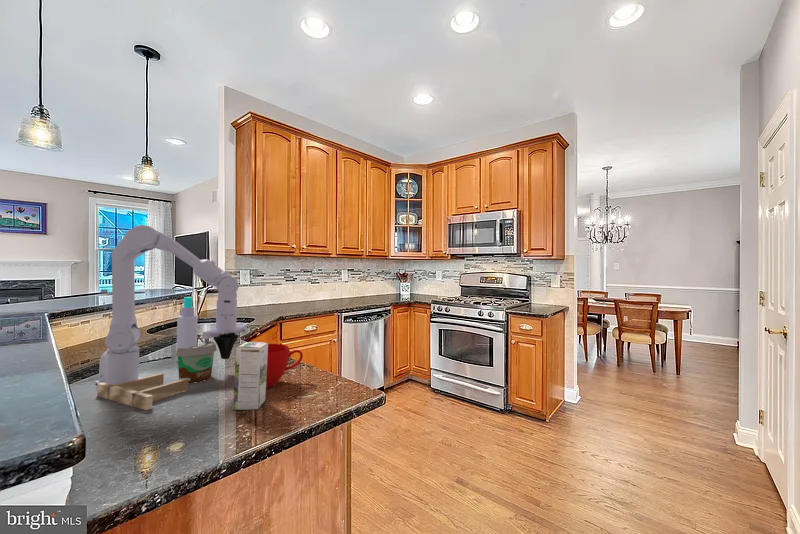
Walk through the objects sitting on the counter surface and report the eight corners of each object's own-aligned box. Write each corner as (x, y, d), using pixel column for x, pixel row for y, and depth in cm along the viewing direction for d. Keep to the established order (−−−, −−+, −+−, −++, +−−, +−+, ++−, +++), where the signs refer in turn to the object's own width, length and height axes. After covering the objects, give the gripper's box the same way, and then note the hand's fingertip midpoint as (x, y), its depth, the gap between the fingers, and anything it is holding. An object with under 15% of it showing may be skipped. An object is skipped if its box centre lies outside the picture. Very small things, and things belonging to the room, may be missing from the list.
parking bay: (97, 395, 88) (97, 383, 88) (150, 381, 99) (151, 371, 99) (146, 410, 80) (147, 396, 80) (199, 393, 91) (199, 381, 91)
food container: (194, 387, 96) (195, 350, 96) (174, 385, 97) (175, 348, 97) (225, 374, 108) (226, 341, 108) (207, 372, 109) (208, 340, 109)
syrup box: (241, 401, 86) (243, 341, 87) (266, 401, 87) (268, 341, 87) (232, 410, 81) (234, 346, 81) (259, 410, 81) (261, 346, 81)
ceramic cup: (306, 386, 99) (307, 350, 99) (239, 394, 91) (241, 355, 91) (298, 373, 110) (298, 341, 110) (238, 380, 103) (239, 345, 103)
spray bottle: (175, 363, 119) (177, 298, 120) (176, 359, 125) (178, 296, 125) (196, 361, 122) (198, 297, 123) (196, 357, 127) (198, 296, 128)
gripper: (214, 318, 102) (213, 365, 102) (254, 313, 115) (253, 355, 115) (198, 316, 105) (196, 362, 105) (238, 311, 118) (237, 352, 118)
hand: (225, 358), depth 110 cm, fingers closed
